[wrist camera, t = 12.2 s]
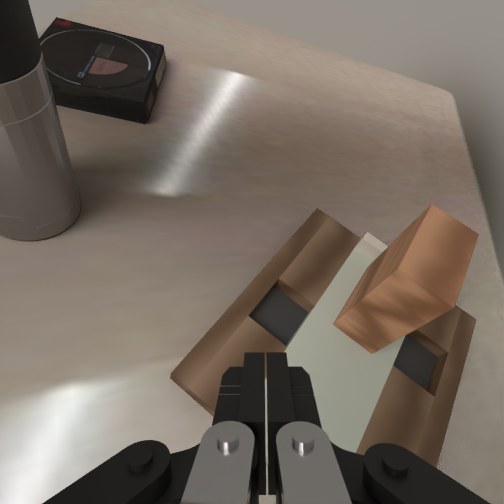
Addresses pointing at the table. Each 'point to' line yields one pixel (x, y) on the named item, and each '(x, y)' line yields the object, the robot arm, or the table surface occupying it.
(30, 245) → the table surface
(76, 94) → the portable cd player
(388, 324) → the block
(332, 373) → the lane board
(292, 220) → the table surface
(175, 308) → the table surface
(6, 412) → the table surface
